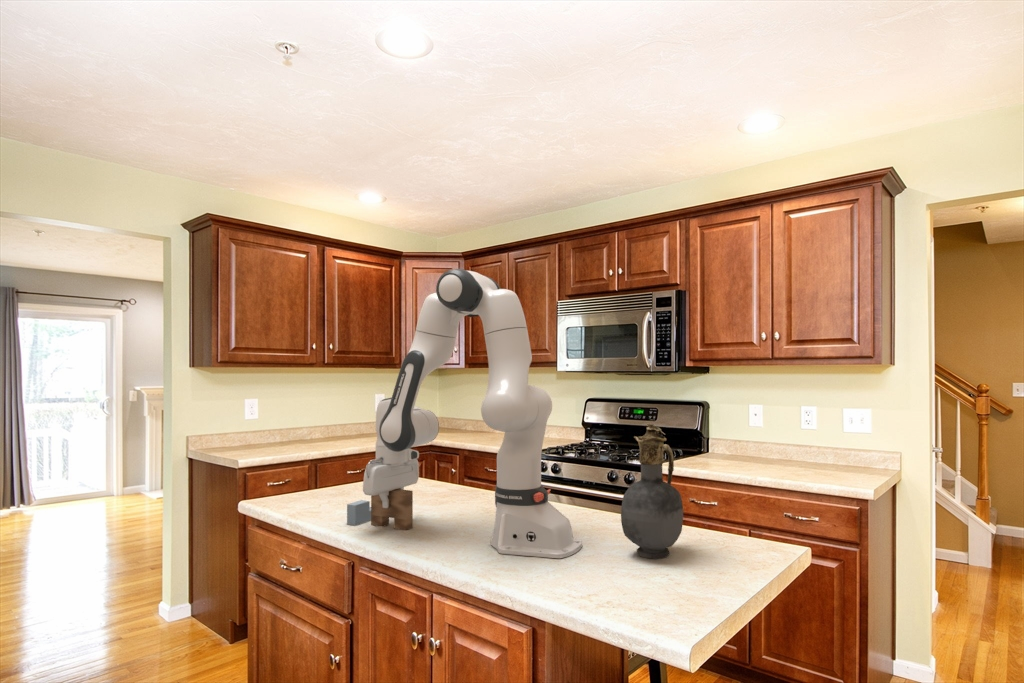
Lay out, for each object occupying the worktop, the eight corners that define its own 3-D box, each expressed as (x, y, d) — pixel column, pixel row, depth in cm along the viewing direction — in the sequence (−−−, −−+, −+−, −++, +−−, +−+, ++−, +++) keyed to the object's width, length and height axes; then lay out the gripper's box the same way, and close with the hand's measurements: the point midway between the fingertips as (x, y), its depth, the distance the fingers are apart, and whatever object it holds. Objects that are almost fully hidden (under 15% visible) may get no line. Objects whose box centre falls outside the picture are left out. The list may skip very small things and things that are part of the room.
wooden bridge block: (412, 527, 163) (412, 490, 164) (405, 530, 161) (405, 492, 161) (378, 522, 169) (378, 486, 169) (371, 525, 166) (371, 488, 167)
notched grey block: (391, 513, 180) (392, 494, 180) (355, 525, 166) (355, 505, 166) (384, 512, 181) (384, 493, 182) (347, 524, 167) (347, 504, 167)
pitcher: (615, 557, 136) (613, 425, 138) (653, 538, 151) (651, 419, 152) (659, 567, 130) (657, 428, 131) (694, 546, 144) (692, 422, 146)
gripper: (375, 461, 155) (375, 515, 154) (422, 451, 173) (422, 499, 173) (357, 460, 158) (357, 512, 157) (405, 450, 176) (405, 497, 176)
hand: (391, 505), depth 165 cm, fingers closed on wooden bridge block, 3 cm apart
